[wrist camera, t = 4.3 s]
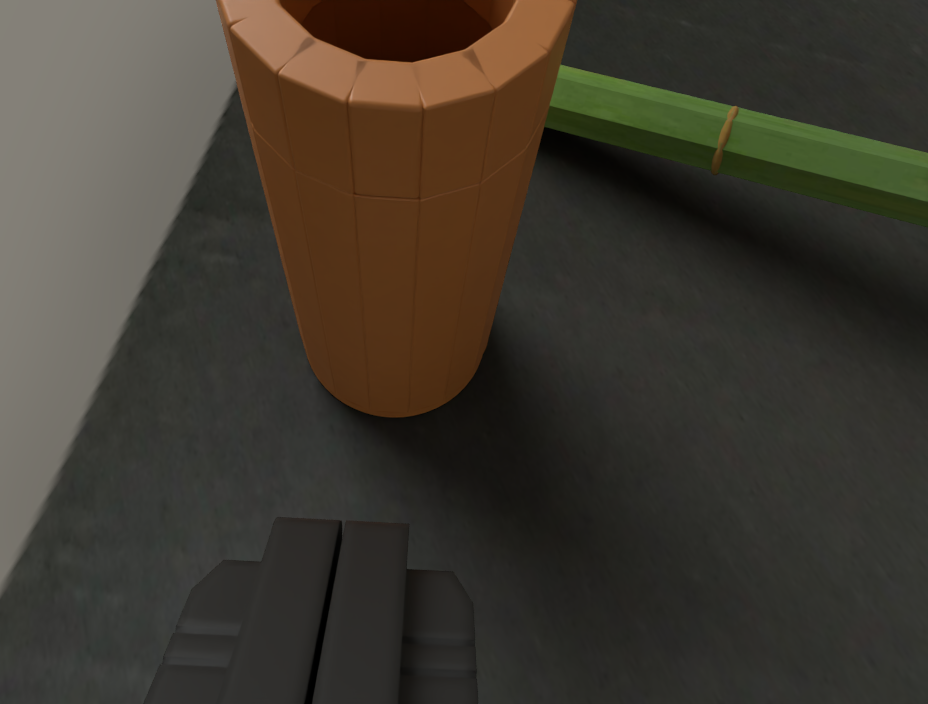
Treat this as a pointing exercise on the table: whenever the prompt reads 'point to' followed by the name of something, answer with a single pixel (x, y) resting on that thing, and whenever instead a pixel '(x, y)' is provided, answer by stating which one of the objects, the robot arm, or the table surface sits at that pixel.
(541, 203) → the table surface
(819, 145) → the decorative plant
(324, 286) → the jar
